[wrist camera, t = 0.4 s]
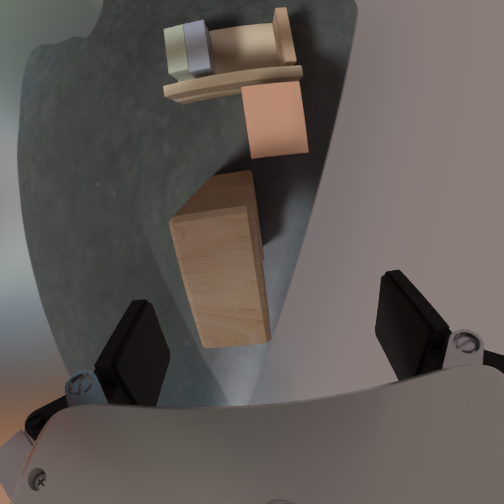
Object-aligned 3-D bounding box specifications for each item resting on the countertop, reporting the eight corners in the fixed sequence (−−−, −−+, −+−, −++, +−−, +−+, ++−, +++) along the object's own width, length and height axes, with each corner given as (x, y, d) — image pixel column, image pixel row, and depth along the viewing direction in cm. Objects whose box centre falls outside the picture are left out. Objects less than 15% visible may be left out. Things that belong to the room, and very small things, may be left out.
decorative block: (262, 248, 40) (271, 346, 22) (222, 253, 40) (200, 351, 22) (253, 169, 36) (255, 205, 17) (209, 174, 36) (165, 217, 18)
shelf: (174, 40, 29) (156, 19, 21) (281, 23, 28) (288, -2, 20) (182, 104, 32) (164, 96, 25) (292, 88, 32) (303, 75, 24)
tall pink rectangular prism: (244, 102, 32) (240, 86, 21) (283, 98, 32) (299, 80, 21) (251, 151, 35) (251, 158, 24) (290, 147, 35) (308, 152, 24)
